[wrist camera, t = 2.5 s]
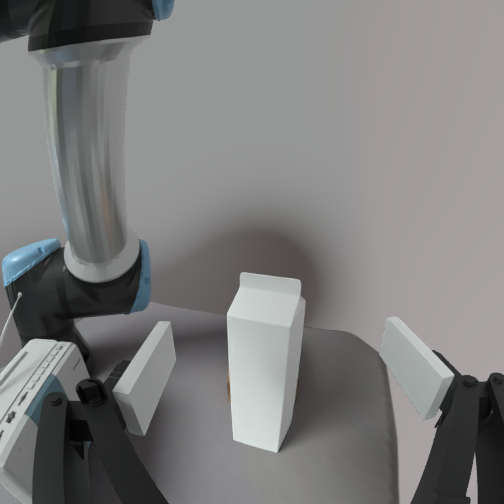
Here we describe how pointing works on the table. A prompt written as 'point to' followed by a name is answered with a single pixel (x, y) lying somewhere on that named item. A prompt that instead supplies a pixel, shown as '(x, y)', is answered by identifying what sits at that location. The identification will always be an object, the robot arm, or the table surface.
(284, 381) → the milk
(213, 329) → the table surface
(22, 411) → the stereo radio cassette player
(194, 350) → the table surface
